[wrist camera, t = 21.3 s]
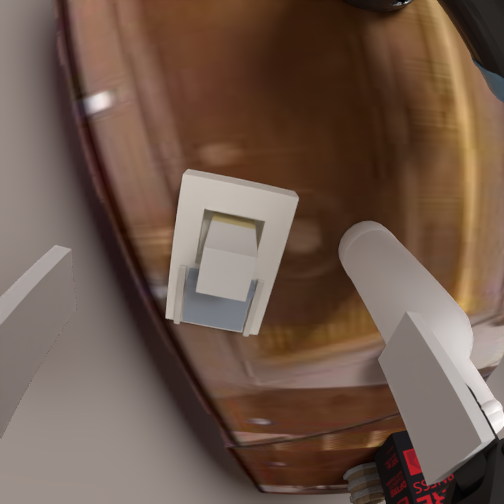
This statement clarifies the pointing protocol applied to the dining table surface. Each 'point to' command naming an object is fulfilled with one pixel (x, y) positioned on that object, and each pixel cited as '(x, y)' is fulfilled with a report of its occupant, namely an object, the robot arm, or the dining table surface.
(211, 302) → the shutter
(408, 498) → the product box
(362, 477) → the tankard
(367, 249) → the bottle
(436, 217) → the dining table surface
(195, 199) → the socket
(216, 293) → the plug
